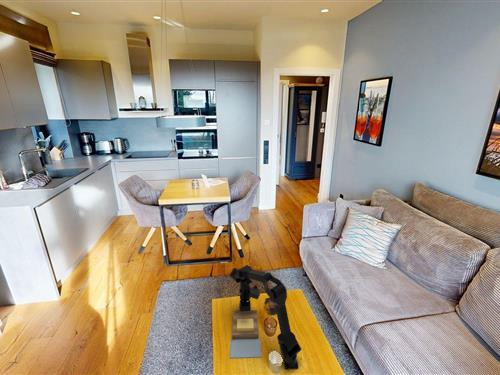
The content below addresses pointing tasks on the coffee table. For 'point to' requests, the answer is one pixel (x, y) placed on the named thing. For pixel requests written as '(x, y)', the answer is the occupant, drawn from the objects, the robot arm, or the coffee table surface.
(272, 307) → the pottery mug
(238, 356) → the mat
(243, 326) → the bevelled yellow tile
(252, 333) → the deck
